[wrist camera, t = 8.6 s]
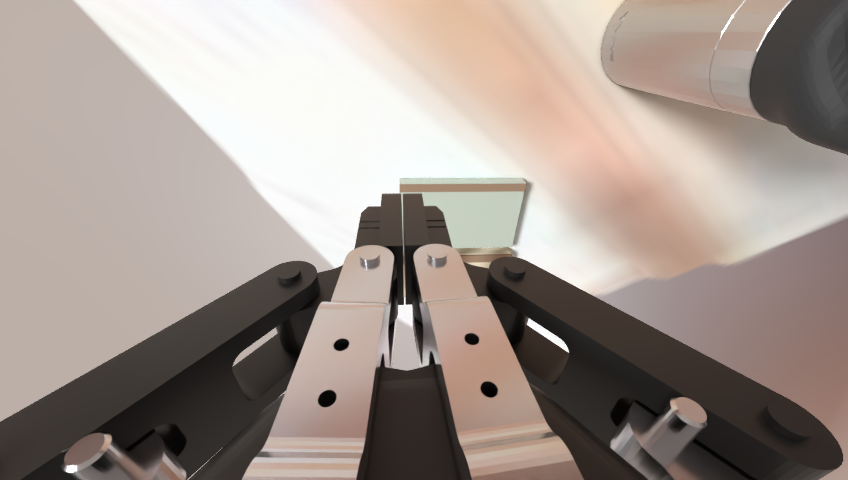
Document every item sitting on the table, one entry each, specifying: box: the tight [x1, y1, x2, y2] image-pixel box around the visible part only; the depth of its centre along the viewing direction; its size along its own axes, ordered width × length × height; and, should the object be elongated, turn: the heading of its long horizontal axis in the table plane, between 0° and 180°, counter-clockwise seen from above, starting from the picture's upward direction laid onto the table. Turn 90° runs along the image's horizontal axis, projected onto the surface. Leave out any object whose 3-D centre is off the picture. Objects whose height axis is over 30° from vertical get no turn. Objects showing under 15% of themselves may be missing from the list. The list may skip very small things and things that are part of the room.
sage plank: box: [400, 178, 526, 249], centre depth 43 cm, size 16×10×2 cm, turn 88°
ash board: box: [403, 247, 512, 297], centre depth 48 cm, size 16×8×2 cm, turn 88°
